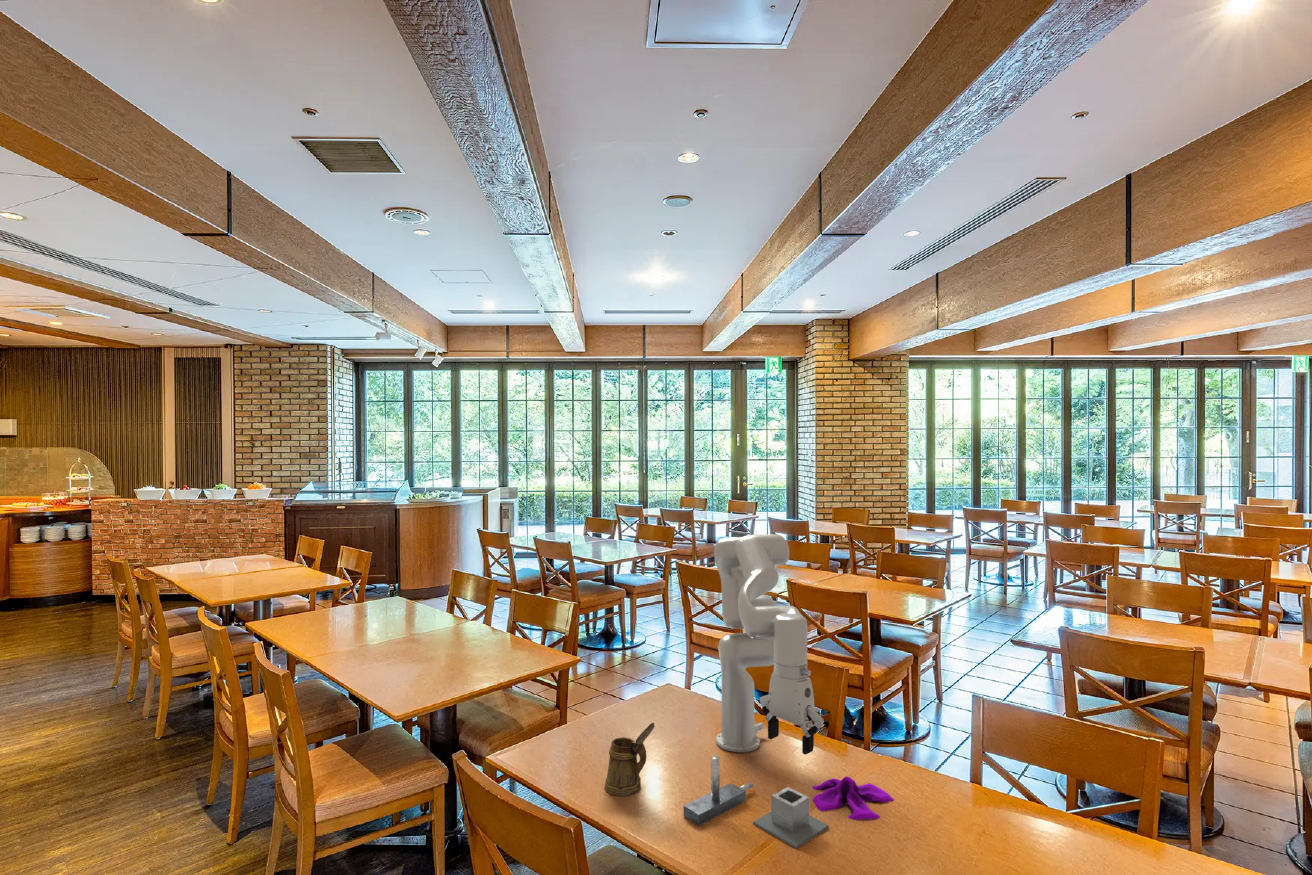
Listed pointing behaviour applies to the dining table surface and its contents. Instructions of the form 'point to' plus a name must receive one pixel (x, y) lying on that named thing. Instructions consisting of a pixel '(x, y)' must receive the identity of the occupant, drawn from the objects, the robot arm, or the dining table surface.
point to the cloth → (849, 797)
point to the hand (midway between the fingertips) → (790, 744)
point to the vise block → (715, 798)
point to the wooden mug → (626, 764)
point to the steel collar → (790, 810)
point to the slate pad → (789, 838)
